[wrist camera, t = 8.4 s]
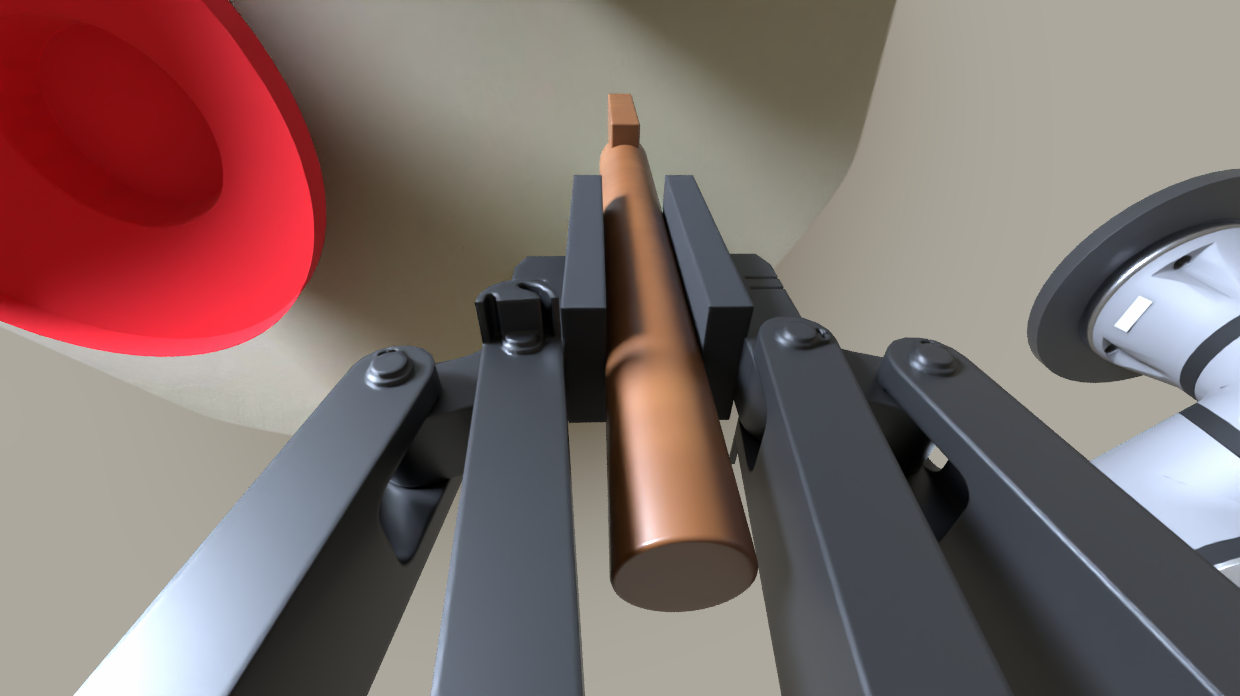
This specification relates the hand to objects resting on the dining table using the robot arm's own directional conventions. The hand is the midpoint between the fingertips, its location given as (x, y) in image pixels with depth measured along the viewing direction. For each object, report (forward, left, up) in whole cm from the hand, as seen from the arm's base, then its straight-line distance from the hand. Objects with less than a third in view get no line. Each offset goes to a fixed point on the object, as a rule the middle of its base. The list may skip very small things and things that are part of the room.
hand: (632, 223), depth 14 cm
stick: (0, 0, -10) cm, 10 cm away
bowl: (+34, +4, -27) cm, 44 cm away
